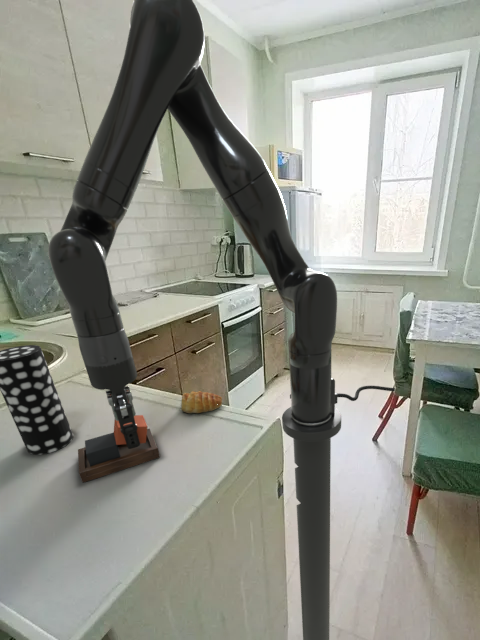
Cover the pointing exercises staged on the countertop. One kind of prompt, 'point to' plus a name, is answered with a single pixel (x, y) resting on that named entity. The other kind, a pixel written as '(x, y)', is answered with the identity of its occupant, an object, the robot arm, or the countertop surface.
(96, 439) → the charcoal block
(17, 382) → the white-spotted black cylinder
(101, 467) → the brown wooden tray
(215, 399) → the pastry
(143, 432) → the orange polygonal prism
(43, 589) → the countertop surface
